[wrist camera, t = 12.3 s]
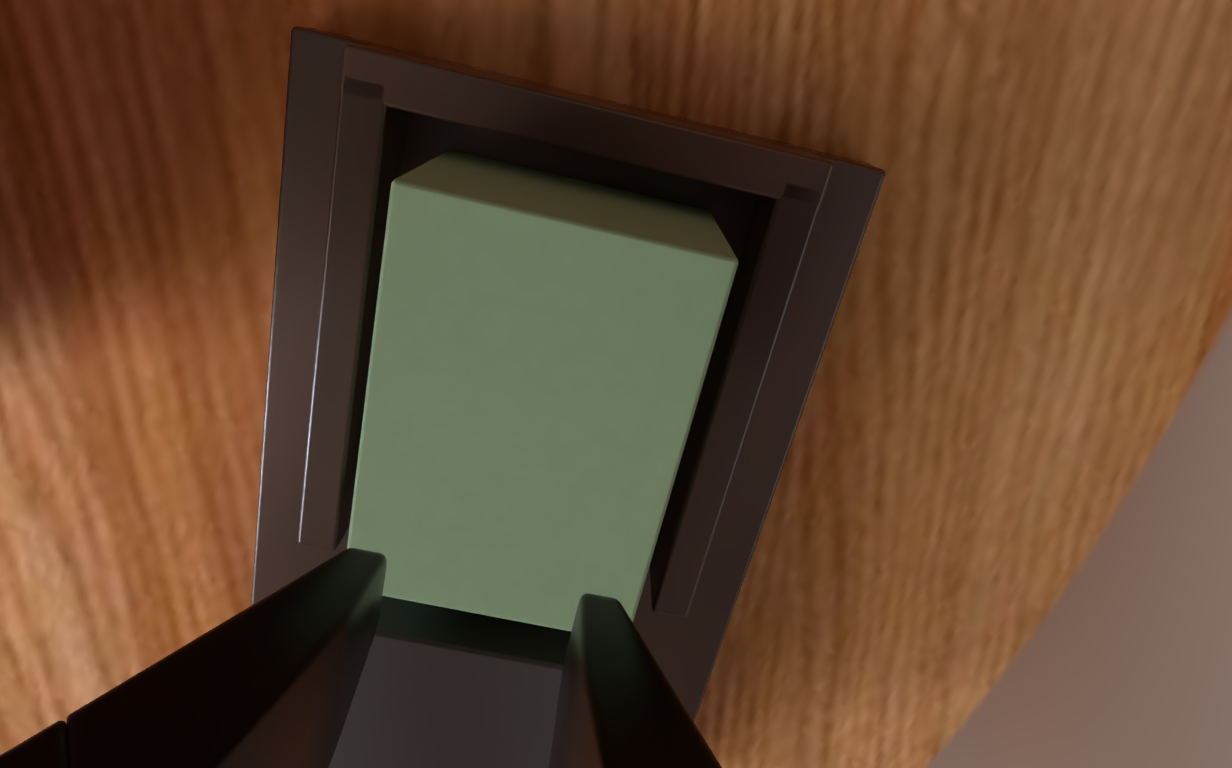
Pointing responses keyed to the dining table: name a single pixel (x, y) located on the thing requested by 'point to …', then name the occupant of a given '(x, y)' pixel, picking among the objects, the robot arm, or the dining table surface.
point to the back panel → (341, 347)
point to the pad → (530, 385)
